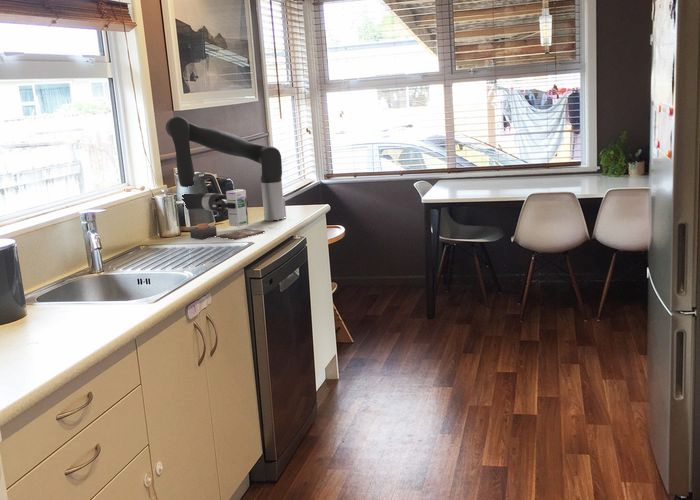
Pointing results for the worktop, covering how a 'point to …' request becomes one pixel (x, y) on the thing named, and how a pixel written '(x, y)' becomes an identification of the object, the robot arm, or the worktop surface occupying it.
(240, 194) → the syrup box
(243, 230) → the board
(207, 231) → the button housing
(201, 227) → the button
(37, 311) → the worktop surface
